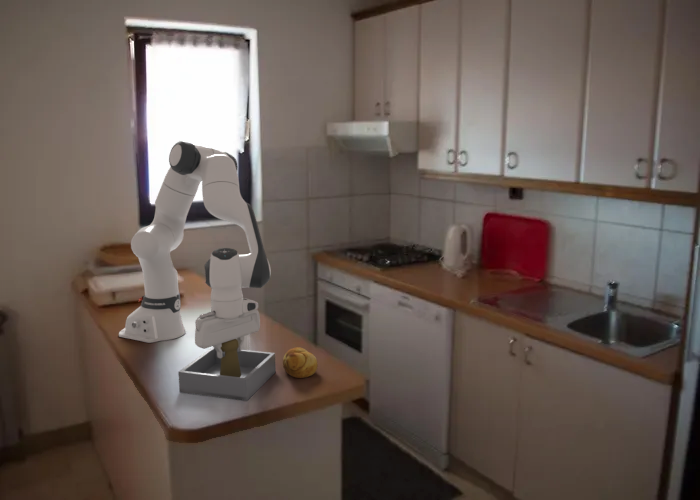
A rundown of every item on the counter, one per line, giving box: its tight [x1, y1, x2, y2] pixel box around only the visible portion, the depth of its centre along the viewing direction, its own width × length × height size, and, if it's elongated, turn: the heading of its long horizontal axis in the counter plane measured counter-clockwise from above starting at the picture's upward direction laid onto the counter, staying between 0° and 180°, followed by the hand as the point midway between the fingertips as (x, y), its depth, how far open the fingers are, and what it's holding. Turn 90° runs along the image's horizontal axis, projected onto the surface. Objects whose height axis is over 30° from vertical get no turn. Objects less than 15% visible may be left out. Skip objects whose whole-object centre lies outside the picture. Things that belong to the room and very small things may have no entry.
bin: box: [178, 346, 276, 402], centre depth 177 cm, size 20×20×6 cm
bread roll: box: [282, 346, 319, 379], centre depth 184 cm, size 13×10×8 cm
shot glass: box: [241, 334, 251, 350], centre depth 199 cm, size 7×7×7 cm
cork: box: [220, 339, 241, 377], centre depth 176 cm, size 6×6×11 cm
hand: (229, 354), depth 176 cm, fingers closed on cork, 4 cm apart
